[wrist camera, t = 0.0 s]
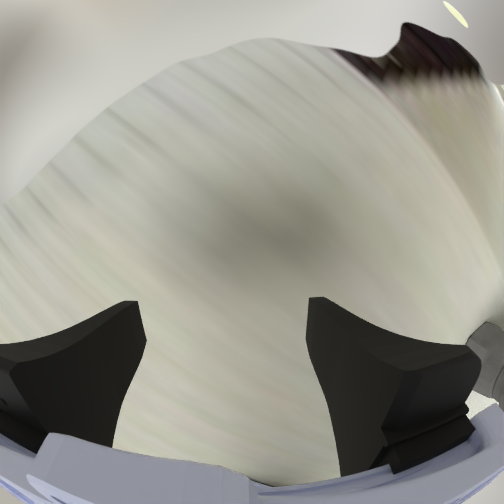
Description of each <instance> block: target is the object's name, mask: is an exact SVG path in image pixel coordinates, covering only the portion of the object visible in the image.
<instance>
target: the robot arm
mask: <svg viewBox="0 0 504 504" xmlns="http://www.w3.org/2000/svg"><path fill="white" fill-rule="evenodd" d="M146 341H147V340H146V336H145V332H144V328H143V323H142V319H141V314H140V310H139V305H138V301H123V302H120V303H118V304H116V305H114V306H112V307H110V308H108V309H106V310H104V311H102V312H100V313H98V314H96V315H94V316H93V317H91V318H89V319H87V320H85V321H82V322H80V323H78V324H76V325H74V326H72V327H70V328H67V329H65V330H63V331H60V332H57V333H54V334H51V335H48V336H45V337H41V338H37V339H34V340H29V341H24V342H18V343H10V344H0V486H1V487H3V488H4V489H5V490H7V491H8V492H10V493H11V494H12V495H14V496H15V497H16V498H18V499H19V500H21V501H22V502H24V503H25V504H461V503H463V502H464V501H465V500H467V499H468V498H470V497H471V496H473V495H474V494H476V493H477V492H479V491H480V490H481V489H483V488H484V487H485V486H487V485H488V484H489V483H490V482H491V481H493V480H494V479H495V478H496V477H497V476H498V475H499V474H500V473H501V472H502V471H504V412H503V411H502V409H501V408H500V407H499V406H498V404H497V403H494V404H492V405H491V406H489V407H487V408H486V409H484V410H482V411H481V412H479V413H478V414H476V415H475V416H474V417H473V418H472V419H471V420H469V419H468V417H467V416H466V415H465V414H467V413H468V412H469V408H468V407H467V405H466V404H465V401H466V400H467V398H468V396H469V395H470V393H471V391H472V389H473V388H474V386H475V384H476V382H477V380H478V378H479V375H480V372H481V367H482V363H481V359H480V358H479V356H478V355H477V354H476V353H475V352H474V351H473V350H472V349H471V348H470V347H469V346H467V345H453V344H440V343H433V342H427V341H422V340H417V339H413V338H409V337H406V336H402V335H399V334H396V333H393V332H390V331H388V330H385V329H382V328H380V327H378V326H375V325H373V324H371V323H369V322H367V321H365V320H363V319H361V318H359V317H358V316H356V315H354V314H352V313H351V312H349V311H347V310H345V309H344V308H342V307H341V306H339V305H337V304H336V303H334V302H332V301H331V300H329V299H327V298H325V297H313V298H309V305H308V318H307V329H306V343H307V347H308V352H309V356H310V359H311V362H312V364H313V367H314V370H315V372H316V375H317V377H318V380H319V383H320V385H321V388H322V390H323V393H324V395H325V398H326V401H327V405H328V409H329V413H330V417H331V421H332V426H333V431H334V436H335V441H336V446H337V452H338V459H339V465H340V474H341V477H340V478H335V479H330V480H325V481H319V482H313V483H307V484H299V485H291V486H281V487H270V486H267V485H264V484H260V483H257V482H254V481H251V480H250V479H249V478H248V477H247V476H245V475H244V474H241V473H238V472H235V471H232V470H230V469H227V468H224V467H222V466H217V465H210V464H204V463H198V462H192V461H185V460H176V459H168V458H160V457H154V456H148V455H142V454H137V453H132V452H127V451H122V450H118V449H114V448H112V446H113V439H114V434H115V429H116V425H117V420H118V416H119V413H120V409H121V405H122V402H123V400H124V397H125V395H126V392H127V390H128V388H129V386H130V383H131V381H132V379H133V377H134V375H135V372H136V370H137V368H138V366H139V364H140V361H141V359H142V356H143V352H144V349H145V345H146Z"/></svg>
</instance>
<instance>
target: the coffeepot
mask: <svg viewBox="0 0 504 504" xmlns="http://www.w3.org/2000/svg"><path fill="white" fill-rule="evenodd" d="M465 345H467V346H469V347H470V348H471V349H472V350H473V351H474V352H475V353H476V354H477V355H478V356H479V358H480V359H481V363H482V367H481V372H480V375H479V378H478V380H477V382H476V384H475V386H474V388H473V389H472V390H474V391H476V392H478V393H480V394H482V395H484V396H486V397H488V398H494V399H495V400H496V401H497V402H499V407H500V408H501V409H502V411H503V412H504V331H503V330H502V329H501V328H500V327H498V326H496V325H494V324H491V323H488V322H486V323H485V324H483V325H482V326H480V327H479V328H478V329H477V330H476V331H475V332H474V333H473V334H472V336H471V337H470V338H469V340H468V341H467V343H466V344H465Z"/></svg>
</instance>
